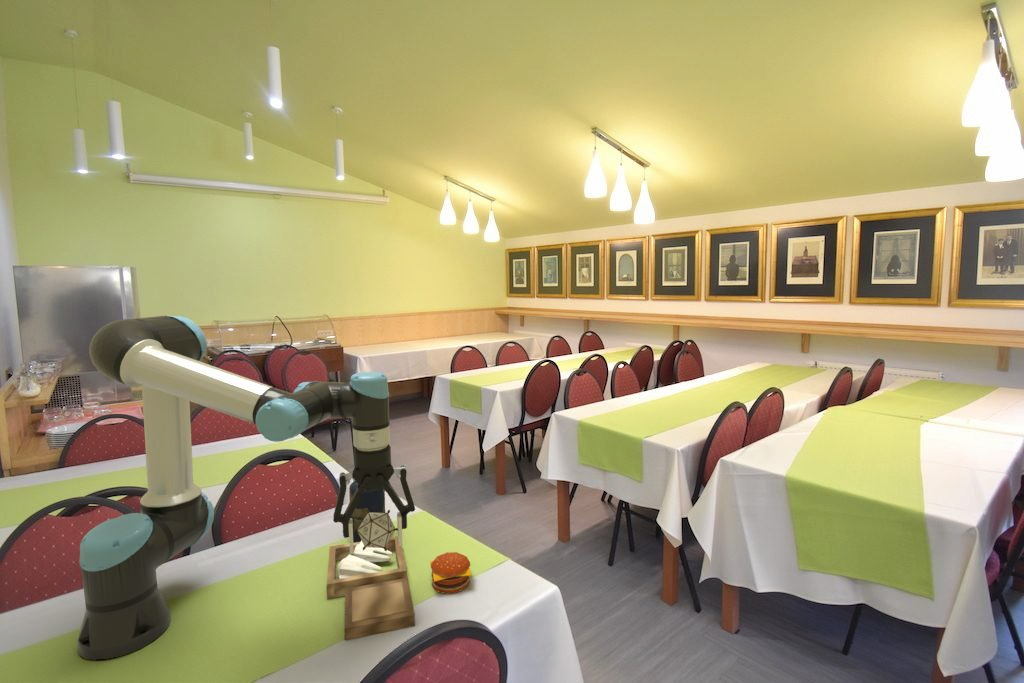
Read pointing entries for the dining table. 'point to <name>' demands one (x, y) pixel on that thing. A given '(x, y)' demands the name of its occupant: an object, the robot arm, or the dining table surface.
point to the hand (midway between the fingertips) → (376, 546)
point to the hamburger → (450, 572)
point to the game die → (376, 530)
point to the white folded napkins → (362, 561)
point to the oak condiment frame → (339, 585)
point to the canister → (366, 506)
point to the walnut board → (378, 608)
